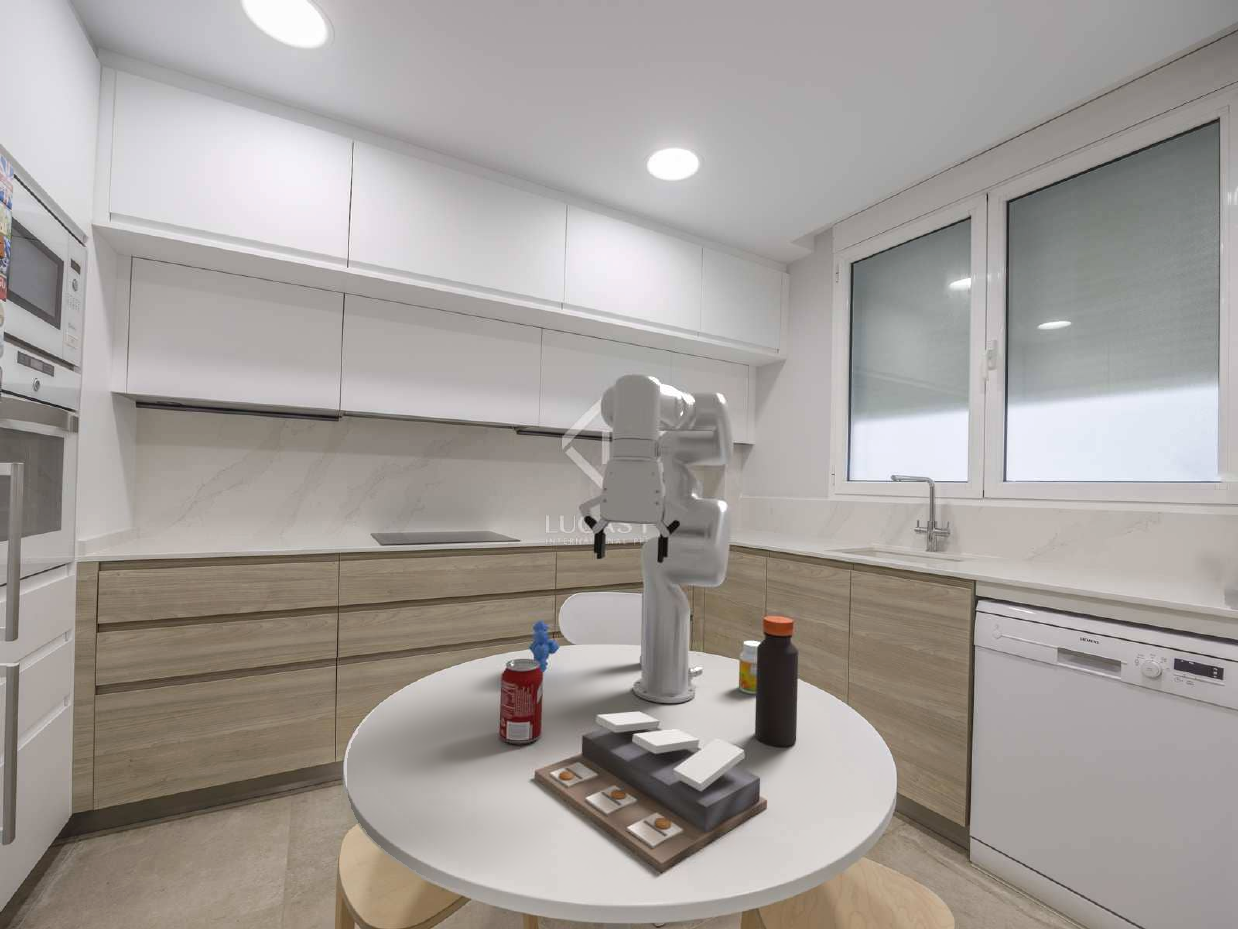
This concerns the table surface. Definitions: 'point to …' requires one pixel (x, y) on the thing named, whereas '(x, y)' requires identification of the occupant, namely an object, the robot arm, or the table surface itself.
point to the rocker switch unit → (650, 796)
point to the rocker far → (627, 721)
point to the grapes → (542, 645)
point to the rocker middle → (665, 740)
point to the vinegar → (776, 684)
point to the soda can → (521, 701)
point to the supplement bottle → (748, 667)
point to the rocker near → (708, 764)
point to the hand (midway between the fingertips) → (630, 560)
